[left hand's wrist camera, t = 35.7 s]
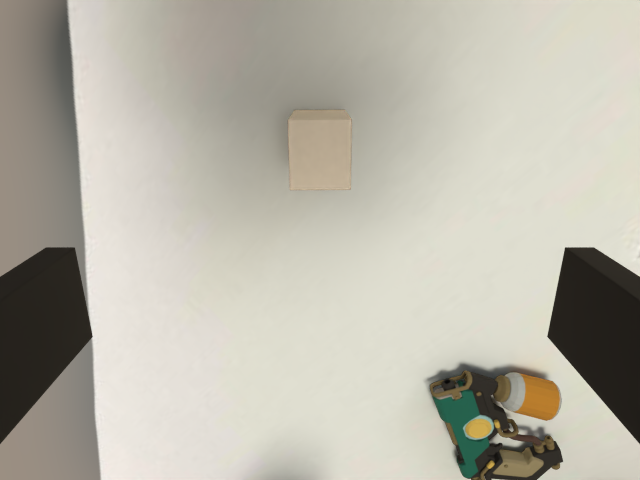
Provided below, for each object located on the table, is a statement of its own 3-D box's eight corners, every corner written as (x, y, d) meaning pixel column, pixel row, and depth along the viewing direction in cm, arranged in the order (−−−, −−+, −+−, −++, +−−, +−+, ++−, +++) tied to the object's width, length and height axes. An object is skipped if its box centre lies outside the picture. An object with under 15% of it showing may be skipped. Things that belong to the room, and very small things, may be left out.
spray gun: (549, 464, 56) (426, 469, 57) (565, 354, 49) (426, 362, 50) (565, 495, 52) (433, 500, 53) (585, 381, 46) (434, 389, 47)
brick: (294, 109, 41) (287, 119, 33) (345, 109, 41) (351, 119, 33) (295, 166, 43) (289, 190, 34) (344, 166, 43) (350, 189, 34)
